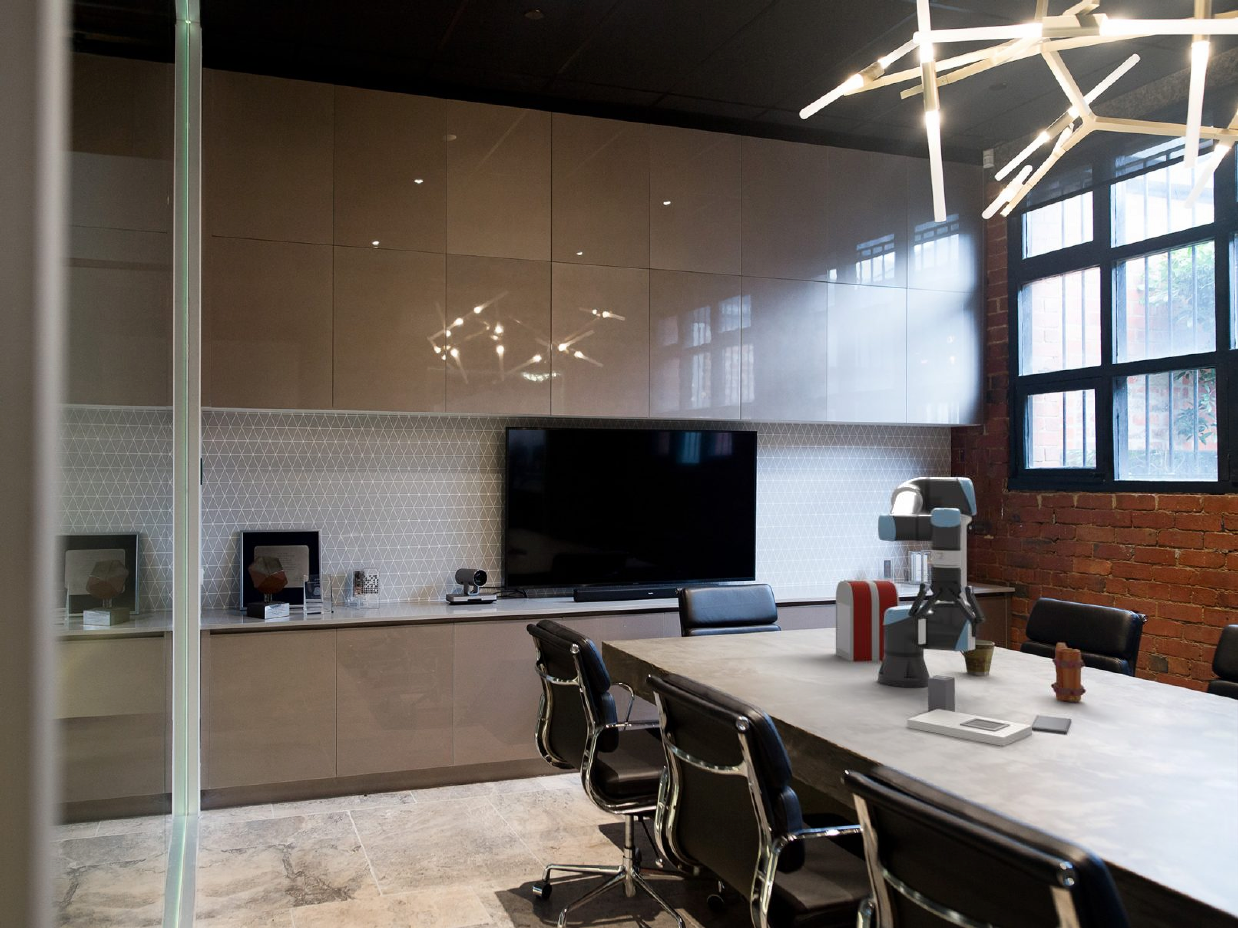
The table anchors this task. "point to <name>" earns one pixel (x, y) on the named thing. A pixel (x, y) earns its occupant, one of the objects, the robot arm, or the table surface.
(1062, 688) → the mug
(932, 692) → the grey rectangular block
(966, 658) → the ceramic cup
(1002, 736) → the outlet plate
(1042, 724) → the phone
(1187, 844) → the table surface
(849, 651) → the red striped box
